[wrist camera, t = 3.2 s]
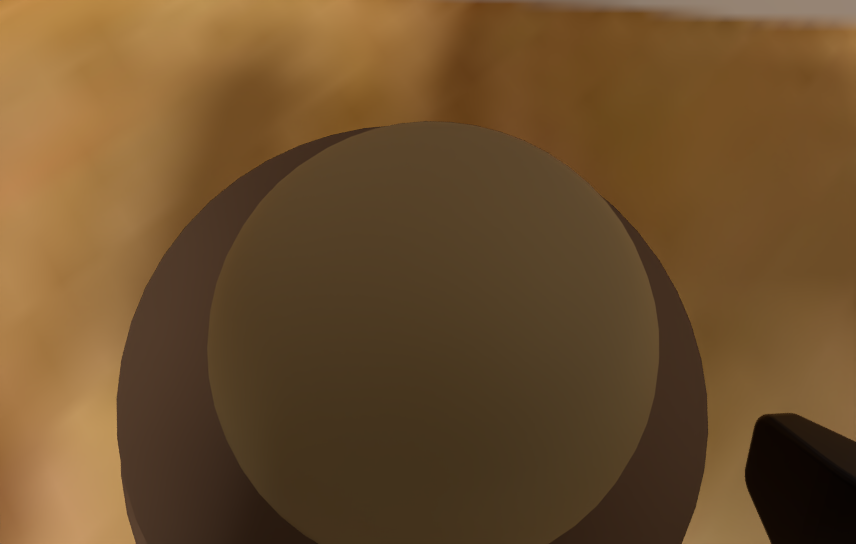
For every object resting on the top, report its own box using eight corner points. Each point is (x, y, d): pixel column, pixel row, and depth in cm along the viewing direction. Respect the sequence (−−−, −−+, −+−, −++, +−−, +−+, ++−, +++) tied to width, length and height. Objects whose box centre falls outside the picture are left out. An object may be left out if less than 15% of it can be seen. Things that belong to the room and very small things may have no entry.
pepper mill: (516, 486, 17) (1095, 147, 4) (406, 681, 15) (729, 1297, 2) (347, 376, 17) (327, -257, 4) (225, 553, 16) (-410, 413, 3)
